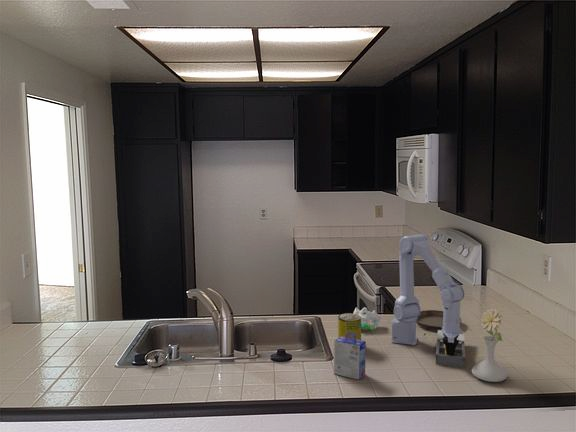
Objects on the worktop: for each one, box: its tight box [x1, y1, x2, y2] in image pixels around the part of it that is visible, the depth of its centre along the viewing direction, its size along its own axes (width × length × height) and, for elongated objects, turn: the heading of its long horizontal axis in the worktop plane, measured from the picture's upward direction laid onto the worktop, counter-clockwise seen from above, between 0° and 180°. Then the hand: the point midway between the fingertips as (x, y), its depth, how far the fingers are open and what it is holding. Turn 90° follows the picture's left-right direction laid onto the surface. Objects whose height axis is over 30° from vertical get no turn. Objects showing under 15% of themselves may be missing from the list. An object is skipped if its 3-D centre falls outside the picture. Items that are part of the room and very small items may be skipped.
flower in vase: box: [471, 308, 508, 383], centre depth 172 cm, size 13×11×25 cm
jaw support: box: [352, 307, 382, 331], centre depth 223 cm, size 12×9×10 cm
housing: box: [435, 339, 466, 368], centre depth 193 cm, size 10×18×4 cm, turn 162°
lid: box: [436, 327, 465, 343], centre depth 202 cm, size 10×10×2 cm
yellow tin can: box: [337, 312, 362, 340], centre depth 203 cm, size 9×9×12 cm
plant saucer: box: [416, 309, 463, 332], centre depth 227 cm, size 21×21×3 cm
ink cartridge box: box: [333, 332, 367, 380], centre depth 177 cm, size 10×6×14 cm, turn 58°
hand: (450, 354), depth 188 cm, fingers open, 4 cm apart
